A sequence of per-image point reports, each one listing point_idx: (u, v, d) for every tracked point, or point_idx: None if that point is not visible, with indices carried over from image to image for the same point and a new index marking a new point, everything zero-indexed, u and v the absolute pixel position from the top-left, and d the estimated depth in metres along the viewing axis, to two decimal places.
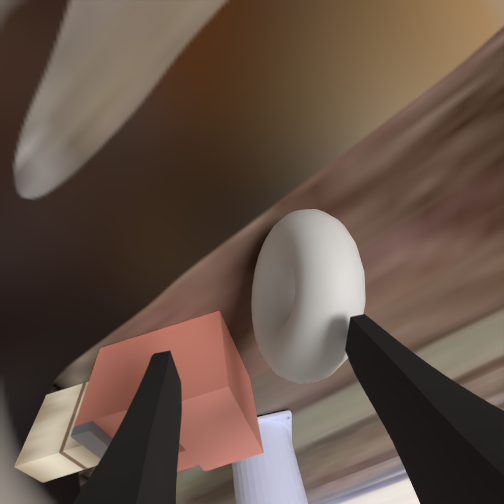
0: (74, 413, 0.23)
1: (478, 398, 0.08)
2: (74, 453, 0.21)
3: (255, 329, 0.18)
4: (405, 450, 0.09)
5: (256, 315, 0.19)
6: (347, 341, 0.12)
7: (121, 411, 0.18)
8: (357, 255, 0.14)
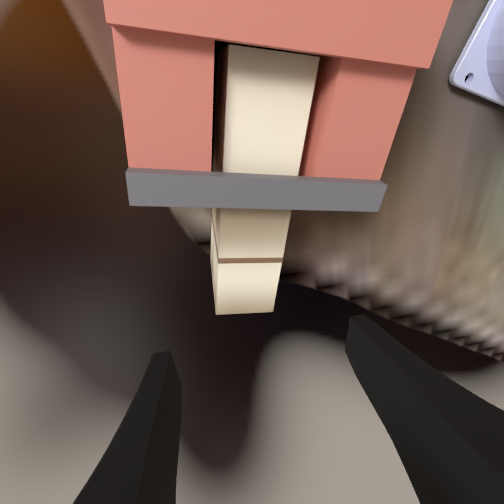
0: (214, 232, 0.16)
1: (478, 398, 0.08)
2: (233, 249, 0.14)
3: None
4: (405, 450, 0.09)
5: None
6: (347, 341, 0.12)
7: (122, 107, 0.09)
8: None
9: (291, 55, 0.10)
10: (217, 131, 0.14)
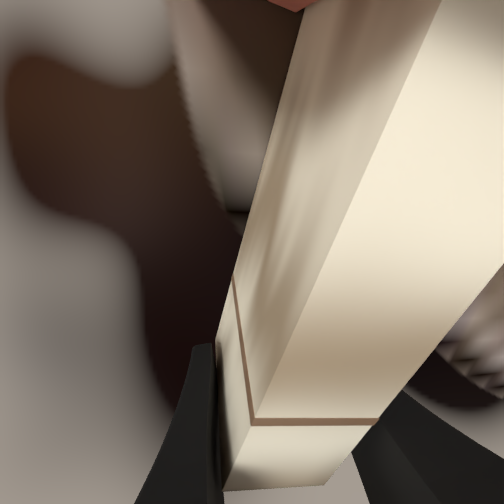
0: (240, 327, 0.09)
1: (425, 410, 0.07)
2: (290, 405, 0.06)
3: None
4: (360, 461, 0.09)
5: None
6: None
7: None
8: None
9: None
10: (288, 148, 0.07)
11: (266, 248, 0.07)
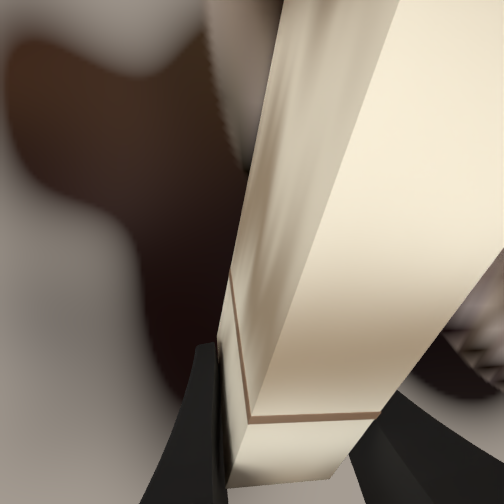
0: (237, 323, 0.08)
1: (421, 411, 0.07)
2: (287, 402, 0.06)
3: None
4: (357, 462, 0.09)
5: None
6: None
7: None
8: None
9: None
10: (274, 137, 0.06)
11: (258, 242, 0.07)
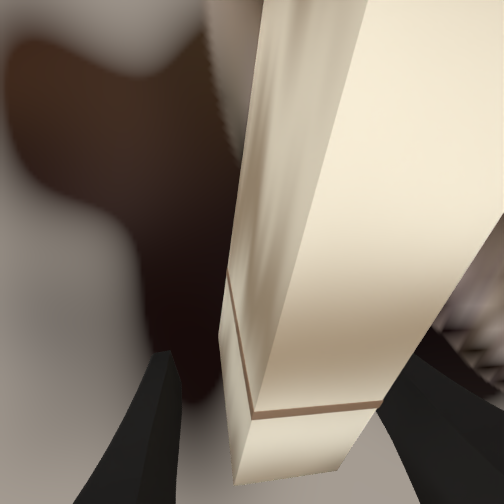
0: (236, 321, 0.09)
1: (478, 398, 0.08)
2: (288, 396, 0.06)
3: None
4: (405, 450, 0.09)
5: None
6: None
7: None
8: None
9: None
10: (262, 133, 0.06)
11: (252, 239, 0.07)
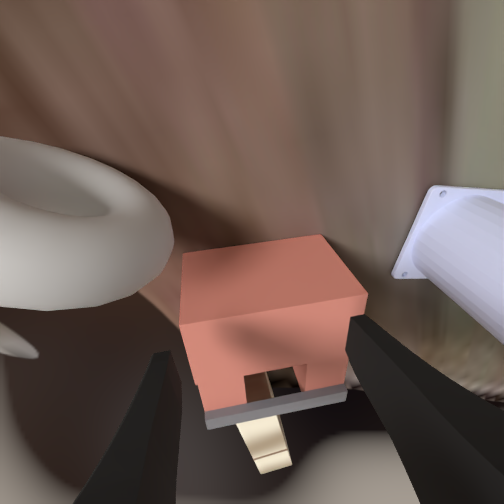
0: None
1: (478, 398, 0.08)
2: (259, 454, 0.26)
3: None
4: (405, 450, 0.09)
5: None
6: (347, 341, 0.12)
7: (201, 395, 0.19)
8: None
9: None
10: None
11: None
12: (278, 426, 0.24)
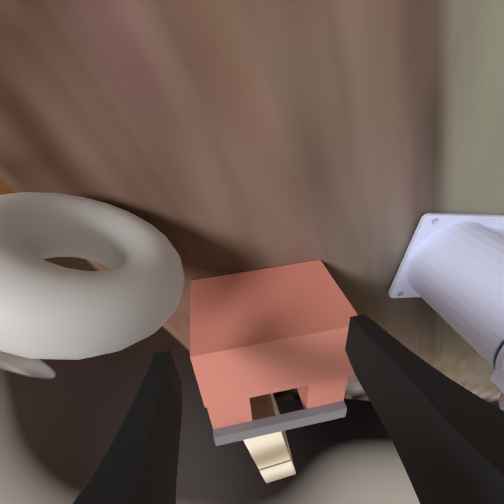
0: None
1: (478, 398, 0.08)
2: (264, 465, 0.27)
3: None
4: (405, 450, 0.09)
5: None
6: (347, 341, 0.12)
7: (209, 415, 0.20)
8: None
9: None
10: None
11: None
12: (282, 439, 0.25)
